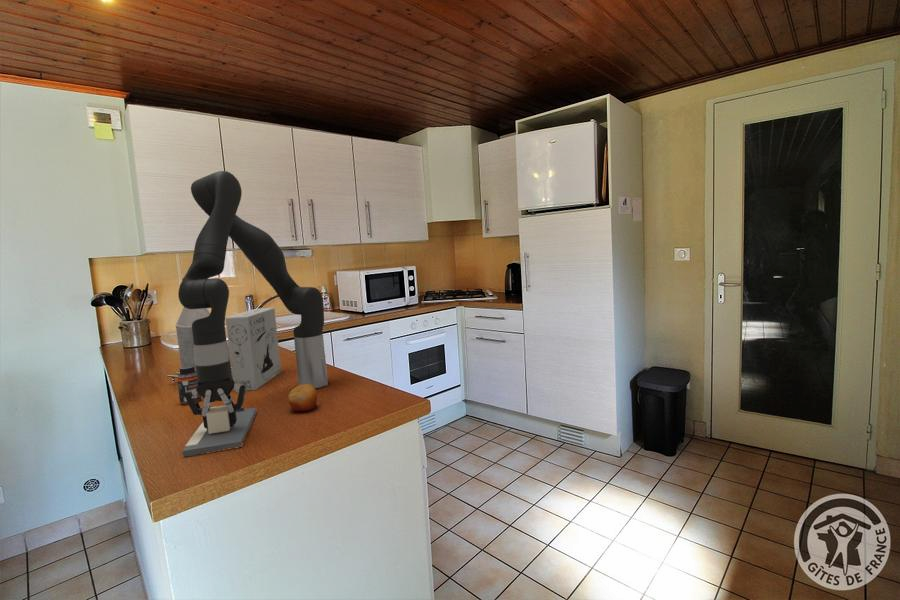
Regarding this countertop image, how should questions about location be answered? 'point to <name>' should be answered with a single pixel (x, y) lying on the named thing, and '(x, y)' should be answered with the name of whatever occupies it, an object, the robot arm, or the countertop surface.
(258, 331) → the cereal box
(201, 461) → the countertop surface
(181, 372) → the supplement bottle
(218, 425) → the tab
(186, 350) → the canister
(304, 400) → the fruit
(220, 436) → the board
